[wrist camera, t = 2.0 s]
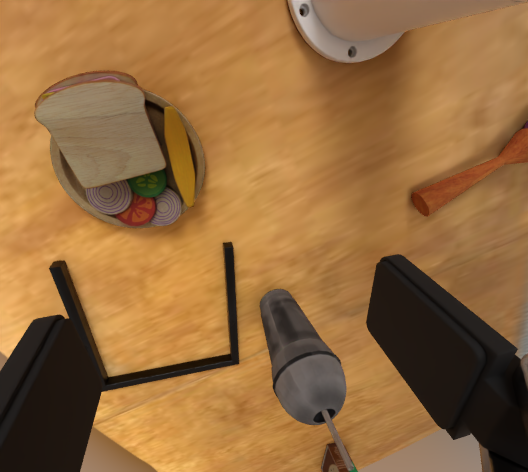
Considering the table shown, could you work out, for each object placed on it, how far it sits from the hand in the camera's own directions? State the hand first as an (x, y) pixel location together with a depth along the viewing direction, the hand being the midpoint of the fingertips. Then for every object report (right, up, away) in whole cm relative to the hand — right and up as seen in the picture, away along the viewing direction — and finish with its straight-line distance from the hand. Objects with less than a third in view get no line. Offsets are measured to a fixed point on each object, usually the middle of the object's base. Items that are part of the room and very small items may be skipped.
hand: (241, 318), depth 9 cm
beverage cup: (+2, -6, +30) cm, 31 cm away
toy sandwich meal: (-12, +10, +17) cm, 23 cm away
